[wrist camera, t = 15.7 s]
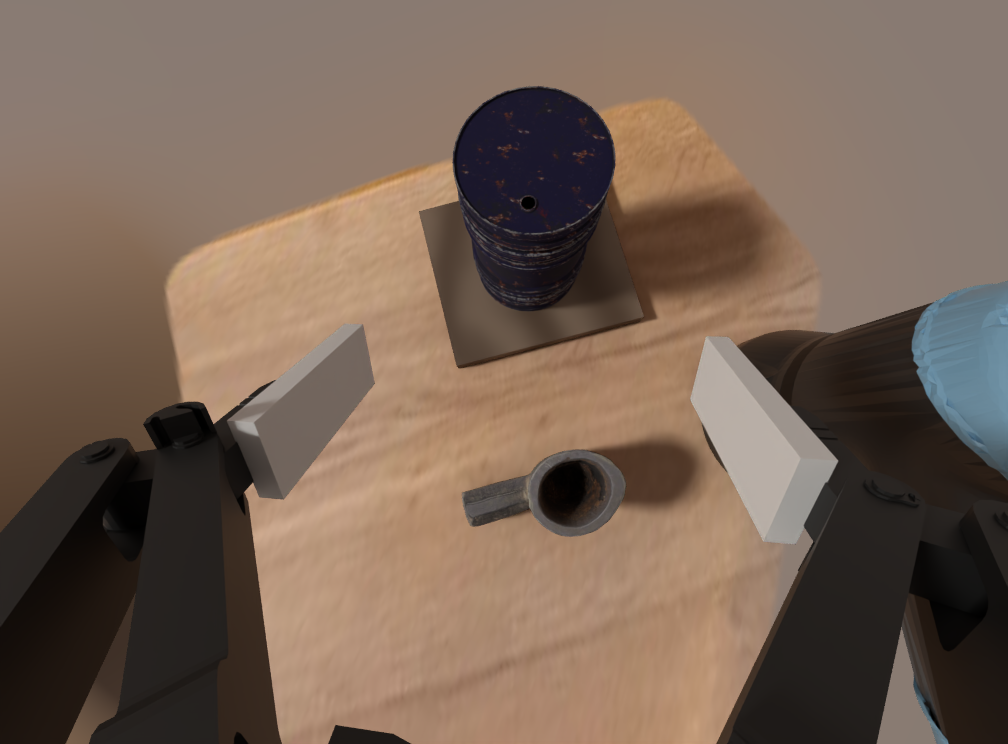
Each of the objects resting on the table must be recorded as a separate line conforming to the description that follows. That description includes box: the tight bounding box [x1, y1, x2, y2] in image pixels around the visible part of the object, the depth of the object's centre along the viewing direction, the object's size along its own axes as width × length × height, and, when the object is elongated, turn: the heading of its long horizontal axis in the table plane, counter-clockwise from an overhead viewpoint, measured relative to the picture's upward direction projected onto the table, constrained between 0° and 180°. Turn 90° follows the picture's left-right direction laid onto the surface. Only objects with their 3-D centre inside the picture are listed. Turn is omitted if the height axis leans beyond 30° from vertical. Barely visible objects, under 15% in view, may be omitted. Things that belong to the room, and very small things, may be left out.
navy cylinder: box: [453, 86, 615, 311], centre depth 31 cm, size 10×10×15 cm
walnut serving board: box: [419, 201, 644, 368], centre depth 39 cm, size 18×16×2 cm
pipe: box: [462, 450, 626, 537], centre depth 33 cm, size 6×13×8 cm, turn 106°
